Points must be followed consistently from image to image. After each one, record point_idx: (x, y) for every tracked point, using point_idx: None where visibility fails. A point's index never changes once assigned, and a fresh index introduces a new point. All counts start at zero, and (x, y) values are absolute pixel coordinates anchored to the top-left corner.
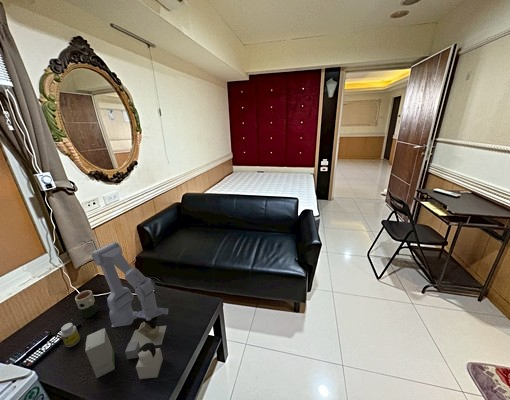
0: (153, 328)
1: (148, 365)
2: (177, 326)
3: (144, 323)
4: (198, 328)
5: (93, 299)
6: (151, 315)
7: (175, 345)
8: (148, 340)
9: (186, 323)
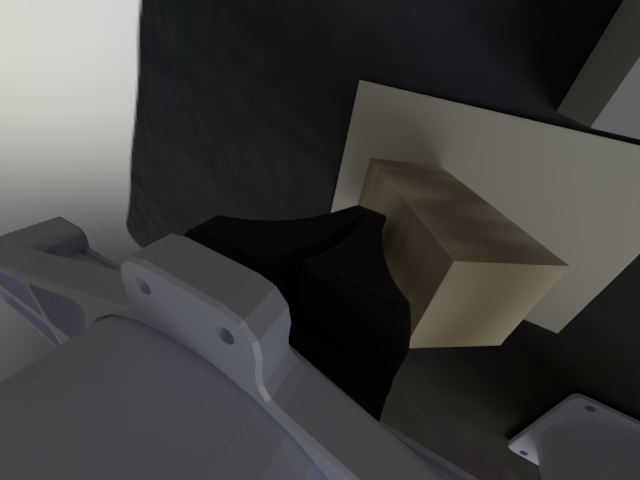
0: (370, 211)
1: None
2: (267, 193)
3: (450, 315)
4: (161, 118)
5: None
6: (85, 352)
7: (264, 29)
8: (462, 173)
9: (224, 187)
